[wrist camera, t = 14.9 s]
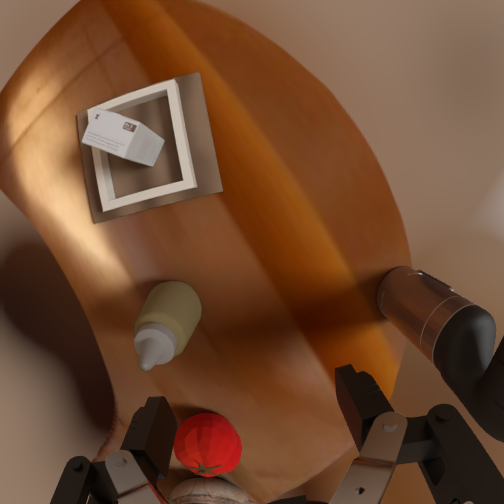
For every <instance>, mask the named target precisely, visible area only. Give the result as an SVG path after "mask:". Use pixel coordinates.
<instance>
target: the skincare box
mask: <svg viewBox="0 0 504 504" xmlns="http://www.w3.org/2000/svg"><path fill="white" fill-rule="evenodd" d="M164 142H165V140H164V139H162V138H161V137H160V136H158V135H157V134H156V133H154V132H153V131H152V130H150V129H149V128H147V127H146V126H145V125H143V124H142V123H140V122H138V121H136V120H133V119H130V118H127V117H124V116H122V115H120V114H117V113H114V112H110V111H107V110H104V109H100V108H95V111H94V113H93V115H92V117H91V119H90V122H89V124H88V126H87V129H86V131H85V133H84V136H83V139H82V143H84V144H87V145H90V146H92V147H95V148H97V149H100V150H103V151H105V152H108V153H111V154H113V155H116V156H119V157H122V158H124V159H128V160H130V161H133V162H137V163H140V164H144V165H147V166H151V167H153V166H154V164H155V161H156V159H157V157H158V155H159V153H160V151H161V149H162V146H163V144H164Z"/></svg>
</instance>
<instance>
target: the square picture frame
mask: <svg viewBox="0 0 504 504" xmlns="http://www.w3.org/2000/svg"><path fill="white" fill-rule="evenodd" d="M167 95H168V99H169V105H170V111H171V117H172V123H173V129H174V134H175V140H176V145H177V150H178V156H179V161H180V166H181V171H182V176H183V181H179V182H175V183H171V184H167V185H163V186H160V187H156V188H152V189H149V190H145V191H141V192H138V193H134V194H131V195H127V196H124V197H121V198H117V199H115V194H114V189H113V184H112V178H111V173H110V167H109V161H108V155H107V152H105V151H103V150H100V149H97V148H95V147H92V153H93V160H94V166H95V172H96V178H97V183H98V189H99V194H100V199H101V203H102V208H103V212H105V211H109V210H113V209H116V208H120V207H123V206H127V205H130V204H134V203H137V202H141V201H145V200H148V199H152V198H156V197H160V196H164V195H168V194H172V193H176V192H180V191H184V190H188V189H192V188H196V187H197V184H196V179H195V174H194V169H193V164H192V159H191V154H190V149H189V144H188V138H187V133H186V128H185V122H184V117H183V111H182V106H181V100H180V94H179V88H178V84H177V83H176V81H175V80H174V79H173V80H169V81H166V82H163V83H159V84H156V85H153V86H149V87H146V88H143V89H140V90H137V91H134V92H131V93H129V94H126V95H123V96H120V97H118V98H115V99H112V100H110V101H107V102H105V103H102V104H100V105H97V106H95V107H93V108H90V109H88V110H87V111H88V121H89V122H90V119H91V117H92V115H93V113H94V111H95V108H100V109H104V110H107V111H110V112H114V113H115V112H118V111H121V110H123V109H126V108H129V107H132V106H135V105H138V104H141V103H144V102H147V101H150V100H153V99H157V98H160V97H164V96H167Z"/></svg>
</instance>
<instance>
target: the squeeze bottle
mask: <svg viewBox="0 0 504 504" xmlns="http://www.w3.org/2000/svg"><path fill="white" fill-rule="evenodd" d="M201 313H202V306H201V303H200V300H199V297H198V295H197V294H196V292H195V291H194V290H193V288H192V287H191V286H190V285H188V284H186V283H185V282H181V281H167V282H163V283H160V284H158V285H157V286H155V287H154V288H153V289H152V290H151V291H150V293H149V295H148V297H147V299H146V301H145V304H144V306H143V308H142V310H141V312H140V314H139V316H138V318H137V320H136V323H135V325H134V337H135V339H134V347H135V349H136V351H137V353H138V355H139V356H140V360H139V367H140V369H141V370H143V371H149V370H150V369H151V368H152V367H153V366H154V365H155V364H157V365H160V364H166V363H167V362H169V361H170V360H171V359H172V358H175V357H176V356H178V355H179V354H181V353H182V352H183V350H184V348H185V346H186V344H187V343H188V341H189V339H190V337H191V335H192V333H193V332H194V330H195V328H196V326H197V324H198V322H199V320H200V319H201Z"/></svg>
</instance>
